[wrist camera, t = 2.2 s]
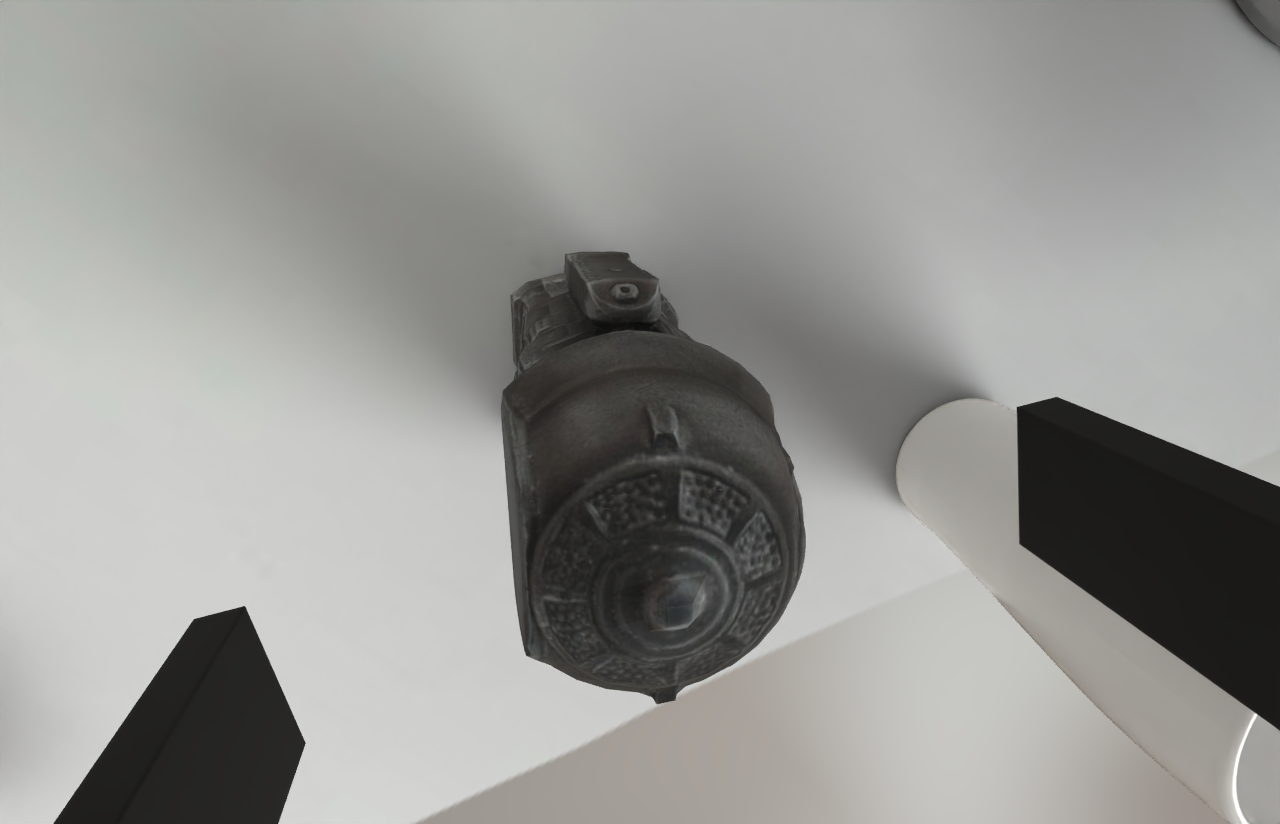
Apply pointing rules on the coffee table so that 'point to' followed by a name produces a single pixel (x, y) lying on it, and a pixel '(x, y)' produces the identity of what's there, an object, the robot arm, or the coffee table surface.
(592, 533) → the toy
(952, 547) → the drinking glass
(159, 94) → the coffee table surface
